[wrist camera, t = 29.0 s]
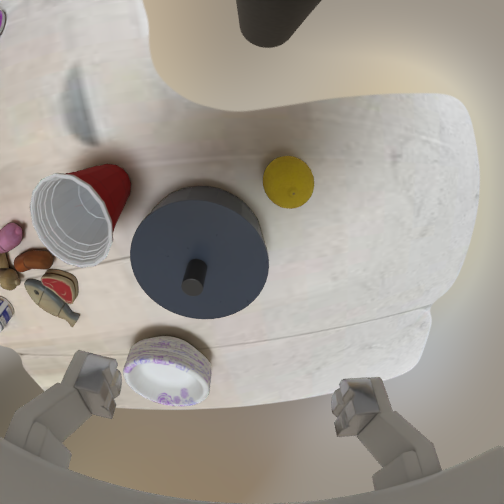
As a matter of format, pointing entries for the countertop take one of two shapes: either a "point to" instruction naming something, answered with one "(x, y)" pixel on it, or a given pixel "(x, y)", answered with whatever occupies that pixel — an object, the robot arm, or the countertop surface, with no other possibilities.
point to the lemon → (288, 182)
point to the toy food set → (52, 282)
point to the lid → (199, 258)
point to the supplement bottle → (2, 20)
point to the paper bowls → (168, 371)
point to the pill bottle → (5, 312)
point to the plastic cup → (80, 212)
